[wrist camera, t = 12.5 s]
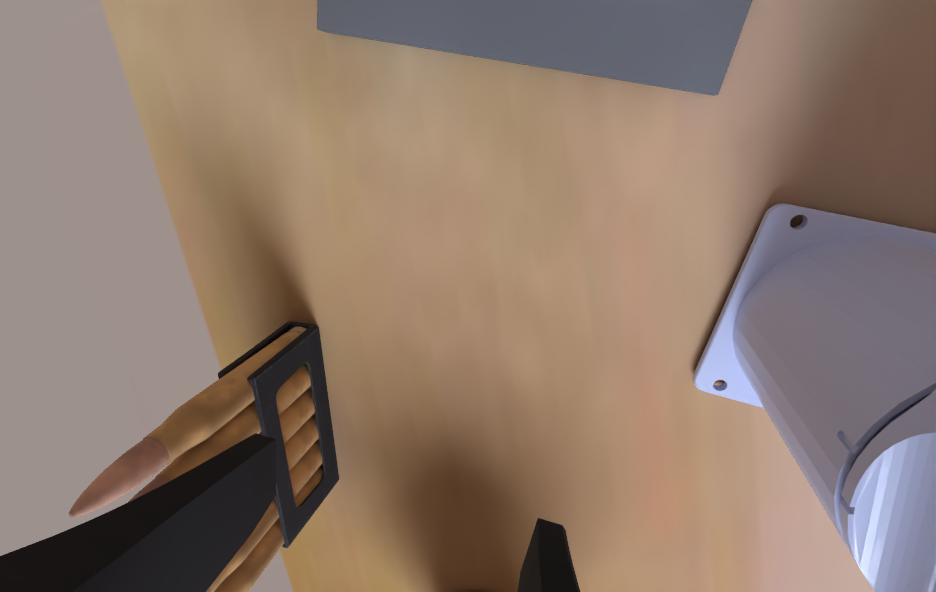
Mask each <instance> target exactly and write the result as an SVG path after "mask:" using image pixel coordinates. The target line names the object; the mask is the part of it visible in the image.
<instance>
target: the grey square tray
mask: <svg viewBox="0 0 936 592" xmlns="http://www.w3.org/2000/svg"><path fill="white" fill-rule="evenodd" d="M751 2H752V0H318V11H317V29H318V30H321V31H324V32H328V33H334V34H340V35H346V36H353V37H359V38H365V39H371V40H377V41H383V42H389V43H395V44H402V45H408V46H414V47H420V48H426V49H432V50H438V51H444V52H451V53H457V54H463V55H469V56H475V57H481V58H487V59H493V60H500V61H506V62H512V63H518V64H524V65H530V66H536V67H542V68H549V69H555V70H561V71H567V72H573V73H579V74H585V75H591V76H598V77H604V78H610V79H616V80H622V81H628V82H634V83H640V84H646V85H653V86H659V87H665V88H671V89H677V90H683V91H689V92H695V93H702V94H708V95H718V94H719V91H720V88H721V85H722V83H723V80H724V77H725V74H726V72H727V69H728V66H729V63H730V60H731V58H732V55H733V52H734V49H735V47H736V44H737V41H738V38H739V36H740V33H741V30H742V27H743V25H744V22H745V19H746V16H747V13H748V11H749V8H750V5H751Z"/></svg>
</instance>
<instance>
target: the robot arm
mask: <svg viewBox="0 0 936 592" xmlns="http://www.w3.org/2000/svg"><path fill="white" fill-rule="evenodd" d="M797 215H802V217H803V221H802V223H801V224H800V225H798V226H796V227H791V226H790V221H791V219H792V218H793V217H795V216H797ZM717 380H723V381H725V382H724V383H723V384H722V385H720V386H715V385H713V384H714V382H715V381H717ZM693 381H694V384H695V386H696V387H697V388H698V389H699V390H701V391H704V392H708V393H711V394H715V395H719V396H722V397H726V398H730V399H733V400H737V401H740V402H744V403H748V404H751V405H755V406H759V407H762V408H765V410H766V412H767V413H768V415H769V417H770V418H771V420H772V422H773V423H774V425H775V427H776V428H777V430H778V432H779V433H780V435H781V437H782V439H783V440H784V442H785V444H786V445H787V447H788V449H789V450H790V452H791V454H792V455H793V457H794V459H795V460H796V462H797V464H798V465H799V467H800V469H801V470H802V472H803V474H804V475H805V477H806V479H807V481H808V482H809V484H810V486H811V487H812V489H813V491H814V492H815V494H816V496H817V497H818V499H819V501H820V502H821V504H822V506H823V507H824V509H825V511H826V512H827V514H828V516H829V517H830V519H831V521H832V522H833V524H834V526H835V528H836V529H837V531H838V533H839V534H840V536H841V538H842V539H843V541H844V543H845V544H846V545H847V547H848V548H849V550H850V553H851V554H852V556H853V558H854V559H855V561H856V563H857V565H858V566H859V568H860V569H861V571H862V573H863V574H864V576H865V577H866V579H867V580H868V582H869V583H870V585H871V586H872V587H873V589H874V590H875V591H876V592H936V233H932V232H927V231H922V230H917V229H912V228H907V227H902V226H897V225H892V224H887V223H882V222H877V221H872V220H867V219H862V218H857V217H852V216H847V215H841V214H836V213H831V212H826V211H821V210H816V209H811V208H806V207H801V206H796V205H791V204H785V203H780V204H776V205H773V206H772V207H771V208H769V209H768V210H767V212H766V213H765V215H764V217H763V219H762V222H761V224H760V226H759V228H758V231H757V233H756V235H755V237H754V240H753V242H752V244H751V246H750V249H749V251H748V253H747V255H746V258H745V260H744V262H743V264H742V267H741V269H740V271H739V273H738V276H737V278H736V280H735V282H734V285H733V287H732V289H731V291H730V293H729V296H728V298H727V300H726V302H725V305H724V307H723V309H722V311H721V314H720V316H719V318H718V320H717V323H716V325H715V327H714V329H713V332H712V334H711V336H710V338H709V341H708V343H707V345H706V347H705V350H704V352H703V354H702V356H701V358H700V361H699V363H698V365H697V367H696V370H695V372H694V374H693ZM275 496H276V439H274V438H270V437H267V436H264V435H260V434H257V433H255V434H253V435H251V436H250V437H248V438H246V439H244V440H242V441H241V442H239V443H237V444H235V445H234V446H232V447H230V448H228V449H226V450H225V451H223V452H221V453H219V454H218V455H216V456H214V457H212V458H211V459H209V460H207V461H205V462H204V463H202V464H200V465H198V466H196V467H195V468H193V469H191V470H189V471H187V472H186V473H184V474H182V475H180V476H178V477H176V478H175V479H173V480H171V481H169V482H167V483H165V484H164V485H162V486H160V487H158V488H156V489H154V490H152V491H150V492H148V493H146V494H144V495H142V496H140V497H138V498H136V499H134V500H132V501H130V502H128V503H126V504H124V505H122V506H120V507H118V508H116V509H114V510H112V511H110V512H108V513H105V514H103V515H101V516H99V517H96V518H94V519H92V520H90V521H88V522H85V523H83V524H80V525H78V526H76V527H74V528H71V529H69V530H67V531H64V532H62V533H59V534H57V535H55V536H52V537H50V538H47V539H45V540H42V541H39V542H36V543H34V544H31V545H28V546H26V547H23V548H21V549H18V550H15V551H13V552H10V553H8V554H5V555H2V556H0V592H206V591H207V590H208V588H209V587H210V586H211V585H212V583H213V582H214V581H215V580H216V578H217V577H218V576H219V575H220V573H221V572H222V571H223V570H224V568H225V567H226V566H227V564H228V563H229V562H230V561H231V559H232V558H233V557H234V556H235V554H236V553H237V552H238V550H239V549H240V548H241V547H242V545H243V544H244V543H245V542H246V540H247V539H248V538H249V536H250V535H251V534H252V532H253V531H254V529H255V528H256V526H257V525H258V523H259V522H260V520H261V519H262V517H263V516H264V514H265V512H266V511H267V509H268V507H269V506H270V504H271V502H272V501H273V499H274V497H275ZM518 592H580V589H579V586H578V582H577V578H576V575H575V571H574V567H573V563H572V559H571V555H570V551H569V546H568V541H567V536H566V530H565V529H564V527H563V526H562V525H560V524H556V523H553V522H550V521H546V520H543V519H540V518H538V520H537V523H536V526H535V529H534V532H533V535H532V538H531V542H530V545H529V548H528V551H527V554H526V557H525V560H524V563H523V566H522V569H521V573H520V580H519V587H518Z"/></svg>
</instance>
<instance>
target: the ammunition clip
mask: <svg viewBox="0 0 936 592" xmlns="http://www.w3.org/2000/svg"><path fill="white" fill-rule="evenodd" d="M218 377H219V380H218V381H216V382H215V383H213V384H212V385H210V386H209V387H208V388H206V389H205V390H203V391H202V392H200V393H199V394H198V395H196V396H195V397H193V398H192V399H190V400H189V401H188V402H186V403H185V404H183V405H182V406H180V407H179V408H178V409H177V410H175V411H174V412H173V413H172V414H171V416H169V418H167V419H166V420H165V421H164V423H163V424H162V425H160V426H159V427H158V428H156V429H155V430H154V431H152V432H151V433H150V434H149V435H147V436H146V437H145V438H144V439H143V440H142V441H141V442H139V443H138V444H137V445H135V446H134V447H132V448H131V449H130V450H128V451H127V452H126V453H124V454H123V455H122V456H121V457H119V458H118V459H117V460H116V461H115V462H113V463H112V464H111V465H110V466H109V467H108V468H107V469H105V470H104V471H103V472H102V473H101V474H100V475H99V476H98V477H97V478H96V479H95V480H94V481H93V482H92V483H91V484H90V485H89V486H88V488H87V489H86V490H85V491H84V492H83V493H82V494H81V495H80V497H79V498H78V499H77V501H76V502H75V504H74V505H73V507H72V508H71V510H70V512H69V516H70V517H78V516H81V515H84V514H86V513H89V512H91V511H94V510H96V509H98V508H100V507H102V506H104V505H106V504H108V503H110V502H112V501H114V500H115V499H117V498H119V497H121V496H122V495H124V494H126V493H127V492H129V491H131V490H132V489H133V488H135V487H137V486H138V485H140V484H141V483H142V482H144V481H145V480H147V479H148V478H150V477H151V476H152V475H153V474H155V473H156V472H157V471H159V470H160V469H161V468H162V467H164V466H165V465H166V464H169V463H170V462H172V461H173V460H174V459H175V460H174V461H173V462H172V463H171V464H170V465H168V466H167V467H166V468H165V469H164V470H163V471H162V472H161V473H160V474H158V475H157V476H156V478H155V479H154V480H153V481H151V482H150V483H149V484H148V485H147V486H145V487H144V488H143V489H142V490H141V491H139V492H138V493H137V494H136V495H135V496H134V497H133V498H132V499H131V500H130V501H132V500H134V499H136V498H138V497H140V496H142V495H144V494H146V493H148V492H150V491H152V490H154V489H156V488H158V487H160V486H162V485H164V484H165V483H167V482H169V481H171V480H173V479H175V478H176V477H178V476H180V475H182V474H184V473H186V472H187V471H189V470H191V469H193V468H195V467H196V466H198V465H200V464H202V463H204V462H205V461H207V460H209V459H211V458H212V457H214V456H216V455H218V454H219V453H221V452H223V451H225V450H226V449H228V448H230V447H232V446H234V445H235V444H237V443H239V442H241V441H242V440H244V439H246V438H248V437H250V436H251V435H253V434H255V433H257V434H260V435H264V436H267V437H270V438H274V439H276V496H275V497H274V499H273V501H272V502H271V504H270V506H269V507H268V509H267V511H266V512H265V514H264V516H263V517H262V519H261V520H260V522H259V523H258V525H257V526H256V528H255V529H254V531H253V532H252V534H251V535H250V536H249V538H248V539H247V540H246V542H245V543H244V544H243V545H242V547H241V548H240V549H239V550H238V552H237V553H236V554H235V556H234V557H233V558H232V559H231V561H230V562H229V563H228V564H227V566H226V567H225V568H224V570H223V571H222V572H221V573H220V575H219V576H218V577H217V578H216V580H215V581H214V582H213V583H212V585H211V586H210V587H209V588H208V590H207V591H206V592H248V590H249V589H250V588H251V587H252V586H253V584H254V583H255V582H256V580H257V579H258V578H259V576H260V575H261V574H262V572H263V571H264V569H265V568H266V567H267V565H268V564H269V563H270V561H271V560H272V559H273V557H274V556H275V555H276V553H277V552H278V551H279V549H280V548H281V547H284V548H288V547H289V546H290V544H291V543H292V542H293V540H294V539H295V538H296V536H297V535H298V534H299V532H300V531H301V530H302V528H303V527H304V526H305V524H306V523H307V522H308V520H309V519H310V518H311V516H312V515H313V514H314V512H315V511H316V510H317V508H318V507H319V506H320V504H321V503H322V502H323V500H324V499H325V498H326V496H327V495H328V494H329V492H330V491H331V490H332V488H333V487H334V486H335V484H336V483H337V482H338V480H339V475H338V467H337V460H336V452H335V445H334V437H333V430H332V422H331V415H330V407H329V400H328V392H327V385H326V378H325V370H324V363H323V355H322V348H321V340H320V333H319V328H318V327H317V326H316V325H309V324H301V323H294V322H287V323H286V324H284V325H283V326H282V327H280V328H279V329H278V330H276V331H275V332H274V333H272V334H271V335H269V336H268V337H267V338H265V339H264V340H263V341H261V342H260V343H259V344H257V345H256V346H255V347H253V348H252V349H251V350H249V351H248V352H247V353H245V354H244V355H242V356H241V357H240V358H238V359H237V360H235V361H234V362H233V363H231V364H230V365H228V366H227V367H226V368H224V369H223V370H221V371H220V372H219V373H218ZM130 501H129V502H130ZM282 545H283V546H282Z"/></svg>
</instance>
